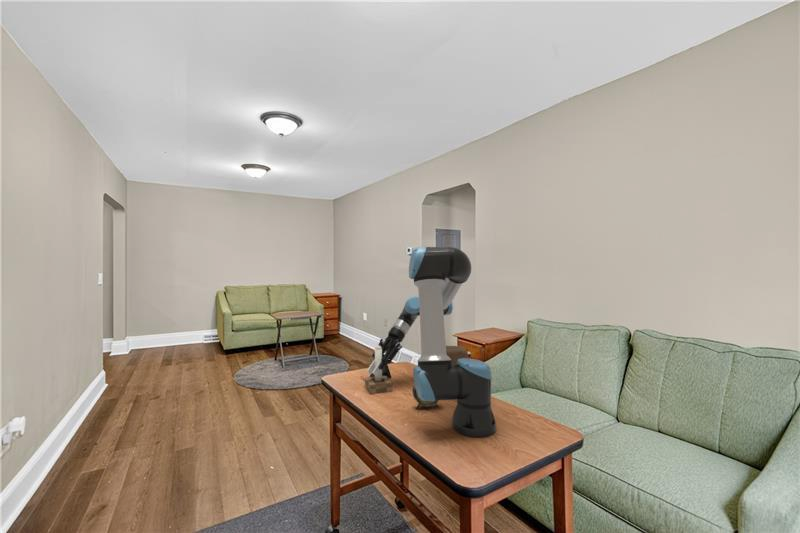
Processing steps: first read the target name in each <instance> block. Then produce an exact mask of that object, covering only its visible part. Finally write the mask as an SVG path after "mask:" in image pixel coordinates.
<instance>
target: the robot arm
mask: <svg viewBox="0 0 800 533" xmlns="http://www.w3.org/2000/svg"><path fill="white" fill-rule="evenodd" d="M408 264H409V266H408V277H409V279H411V280H413V285H414V286H415V287H417V288H418V296H416V295H413V296H410V297H409V298H408V299H407V300H406V302H405V304H404V306H403V308H402V311H401V313H400V314H399V316H398V317H397V319H396V320H395V322H394V323H393V325H392V327H391V328H390V330H389V331H388V335H387V337H386V338H384V339H383V338H380V340H379V342H378V345H379V346H381V348H382V356H383V354H384V357H383V359H381V360H382V361H381V360H380V361H379V363H378V364H377V366H376V368H375V350H374V352H372V355H371V356H372V358H373V359H372V361H371V362H370V365H369V367H368V368H367V370H366V371H367V373H368V374H372V373H373V374H374V375H375V376H377V375H378V374H379V372H380V370H382V368H383V367H384V365H385V364H387V365H390V363H392V361H393V360H394V358H395V357H396V355H398V352H400V350H401V349H403V345H402V344H401V343H402V342H403V340H404V339H405V338H406V335H407V334H408V332H409V331H410V329H411V327H412V325H413V324H414V323H415V321H416V319H418V316H419V324H420V345H421V347H420V348H421V356H420V357H419V358H418V359H417V365H415V366H414V367H413V370H412V372H413V375H412V376H413V383H415V387H416V391H417V394H418V396H419V398H420V399H421V400H423V401H433V402H434V401H438V402H439V401H451V400H455V401H456V405H455V409H454V412H453V414H452V418H451V427H452V429H453V430H454V431H455V432H457V433H459V434H461V435H463V436H466V437H471V438H485V437H489V436H492V435H493V434H494V433H495V432H496V430H497V423H496V419H495V416H494V412H493V410H492V409H493V408H492V379H493V378H492V369H491V367H490V365H489V364H488V363H486V362H484V361H482V360H479V359H474V358H470V357H469V358H461V359H458V360H457V364H451V359H450V358H449V357H448V356H447V354H446V346H447V344H446V332H445V331H446V330H445V318H444V316H448V315H451V314H452V313H453V300H454V298H455V296H457V293H458V291H459V290H460V288H461V286H462V285H463V284H464V283H466V282H467V281H468V280H469V278H470V276H471V273H472V264H471V261H470V257H469V256H468V255H467V254H466V253H465V252H464V251H463V250H461V249H460V248H457V247H453V246H451V247H450V246H449V247H448V246H446V247H443V246H442V247H440V246H423V247H422V246H421V247H415V248H413V250H412V251H411V254H410V258H409V263H408ZM378 345H377V346H378Z"/></svg>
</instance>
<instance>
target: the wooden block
mask: <svg viewBox="0 0 800 533" xmlns="http://www.w3.org/2000/svg"><path fill="white" fill-rule="evenodd" d="M446 354H447V356H448V357H449V358H450V359H451V364H457V360H458V359H461V358H468V357H469V356H468V355H469V352H468V351H467V349H466V348H465V346H463V345H446Z"/></svg>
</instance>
